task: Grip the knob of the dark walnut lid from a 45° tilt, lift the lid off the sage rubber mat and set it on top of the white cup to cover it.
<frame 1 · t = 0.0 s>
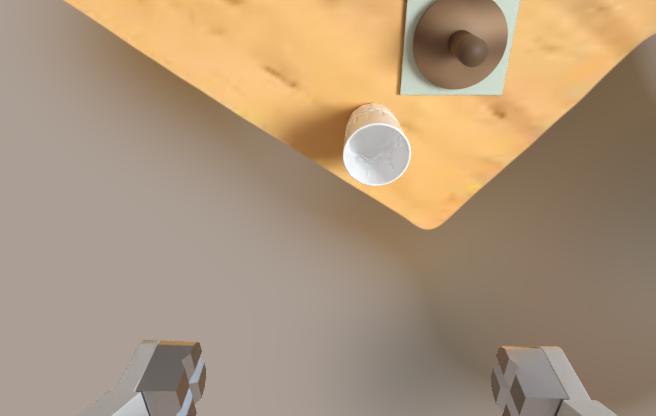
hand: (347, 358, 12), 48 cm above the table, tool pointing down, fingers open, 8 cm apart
mat: (457, 41, 52), on the table
lid: (458, 41, 52), resting on mat
white cup: (371, 126, 59), on the table
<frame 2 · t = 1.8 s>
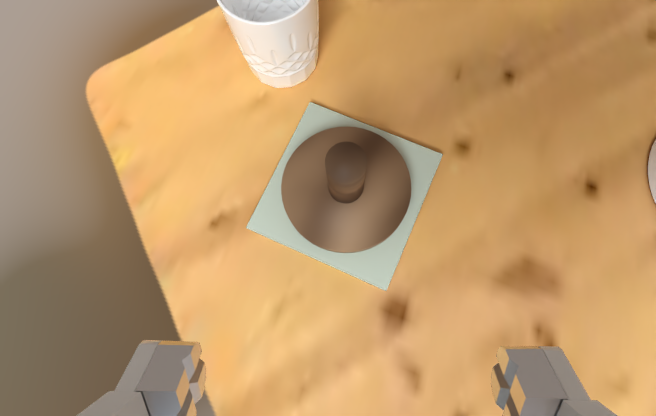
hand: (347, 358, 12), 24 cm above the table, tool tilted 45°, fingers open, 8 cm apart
mat: (345, 192, 38), on the table
lid: (345, 190, 37), resting on mat
white cup: (284, 59, 42), on the table
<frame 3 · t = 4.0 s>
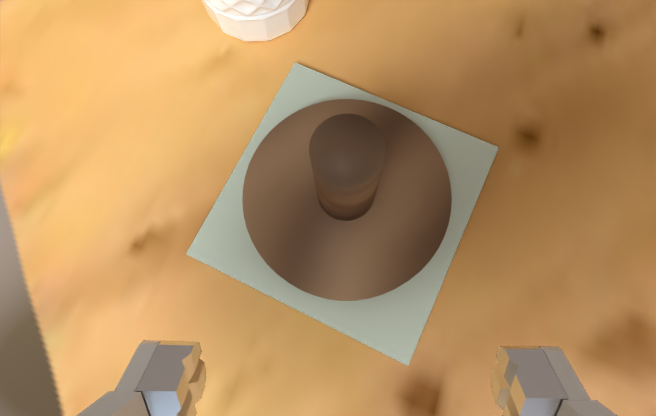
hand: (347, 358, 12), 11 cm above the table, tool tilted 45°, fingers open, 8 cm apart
mat: (345, 201, 24), on the table
lid: (345, 199, 24), point 1 cm above the table, touching mat
white cup: (259, 1, 28), on the table
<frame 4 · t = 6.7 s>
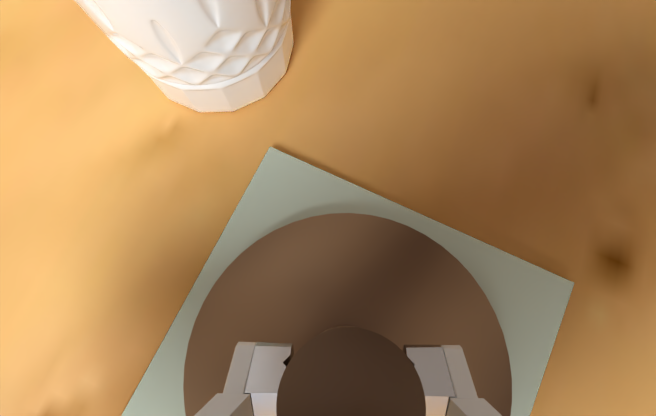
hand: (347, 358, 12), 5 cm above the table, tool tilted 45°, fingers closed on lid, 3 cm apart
mat: (344, 366, 16), on the table
lid: (345, 367, 16), point 1 cm above the table, touching gripper, mat
white cup: (222, 51, 20), on the table
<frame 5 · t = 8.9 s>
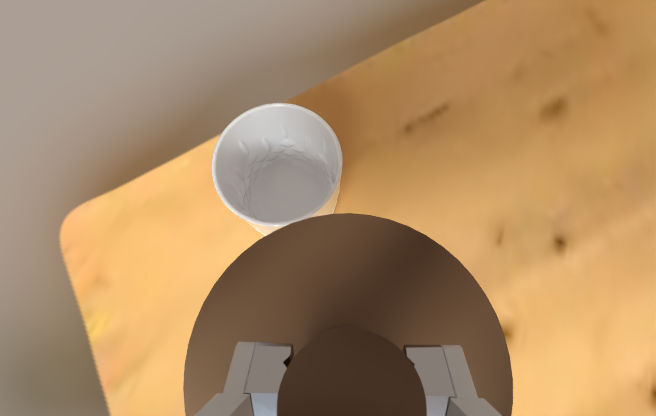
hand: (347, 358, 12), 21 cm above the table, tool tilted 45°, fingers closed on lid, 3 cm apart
lid: (345, 368, 16), point 17 cm above the table, touching gripper
white cup: (294, 206, 35), on the table
when the fingers open (16 cm above the table, at t = 11.2 s): lid drops 2 cm, resting on white cup.
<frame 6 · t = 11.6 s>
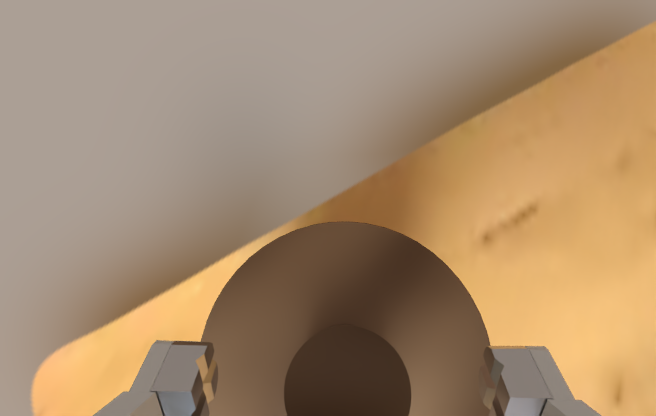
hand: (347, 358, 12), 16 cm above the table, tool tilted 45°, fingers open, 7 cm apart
lid: (344, 362, 17), point 10 cm above the table, touching white cup
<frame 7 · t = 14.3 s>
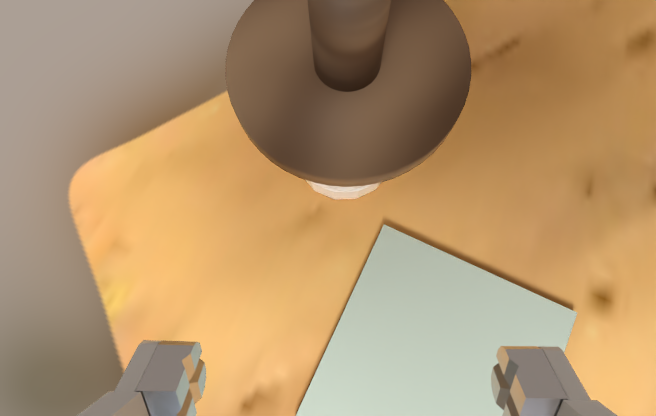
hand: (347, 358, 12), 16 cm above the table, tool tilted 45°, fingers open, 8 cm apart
mat: (437, 363, 26), on the table
lid: (346, 76, 20), point 10 cm above the table, touching white cup
white cup: (344, 155, 30), on the table, touching lid
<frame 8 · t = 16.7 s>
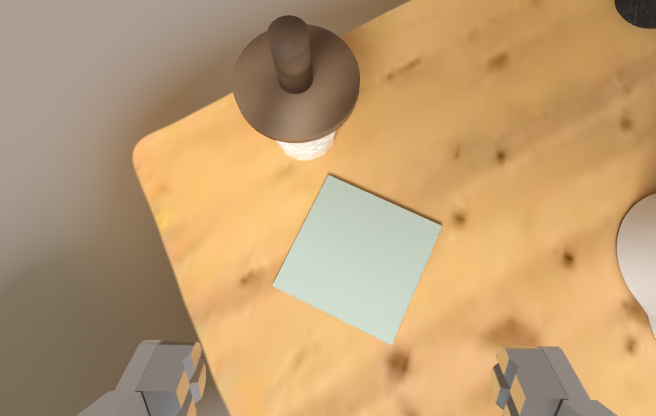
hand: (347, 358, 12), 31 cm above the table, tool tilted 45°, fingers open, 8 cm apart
travel mug: (643, 4, 51), on the table
mat: (358, 256, 44), on the table
lid: (297, 85, 38), point 10 cm above the table, touching white cup
white cup: (305, 133, 48), on the table, touching lid
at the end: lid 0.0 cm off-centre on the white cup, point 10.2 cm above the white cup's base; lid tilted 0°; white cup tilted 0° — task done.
